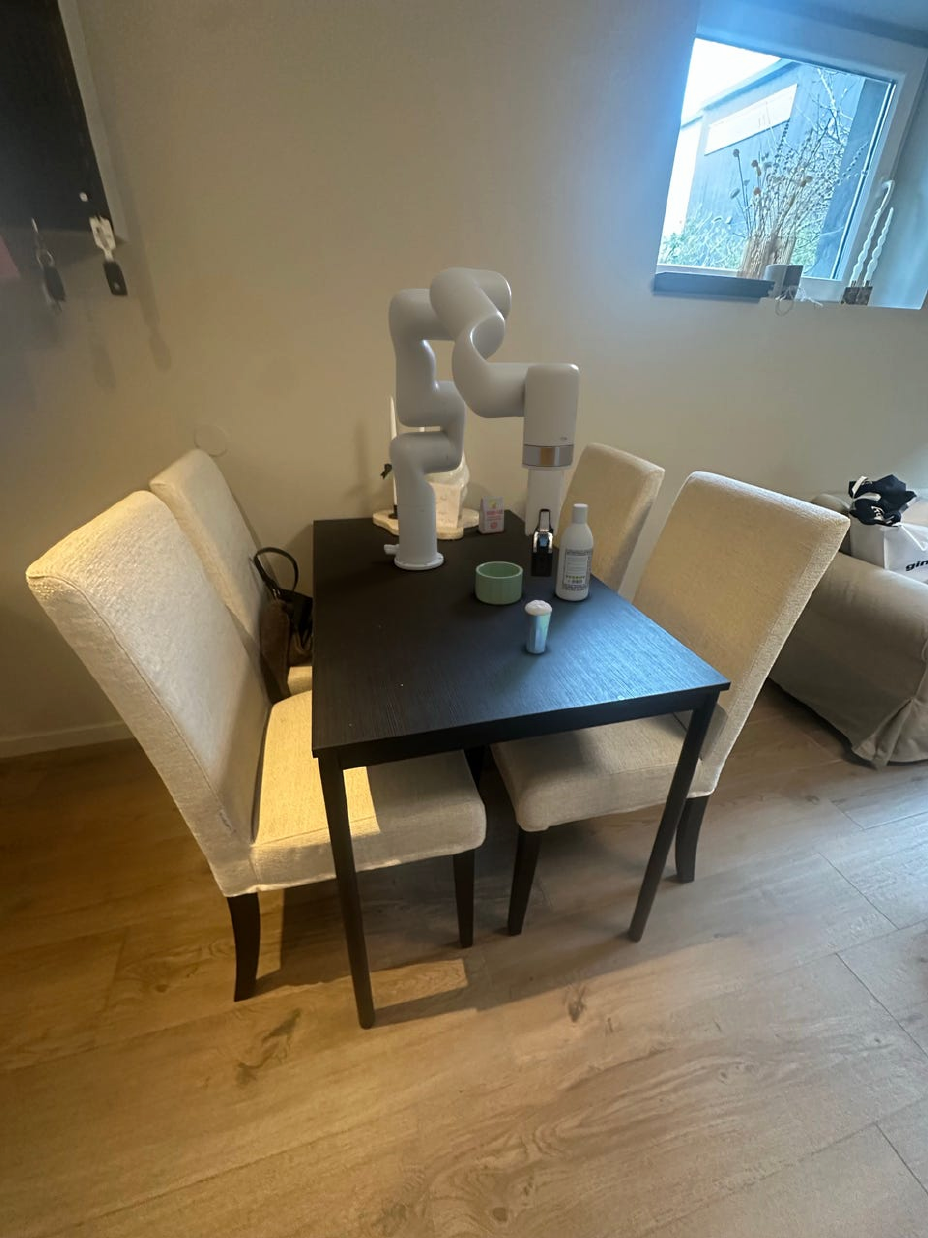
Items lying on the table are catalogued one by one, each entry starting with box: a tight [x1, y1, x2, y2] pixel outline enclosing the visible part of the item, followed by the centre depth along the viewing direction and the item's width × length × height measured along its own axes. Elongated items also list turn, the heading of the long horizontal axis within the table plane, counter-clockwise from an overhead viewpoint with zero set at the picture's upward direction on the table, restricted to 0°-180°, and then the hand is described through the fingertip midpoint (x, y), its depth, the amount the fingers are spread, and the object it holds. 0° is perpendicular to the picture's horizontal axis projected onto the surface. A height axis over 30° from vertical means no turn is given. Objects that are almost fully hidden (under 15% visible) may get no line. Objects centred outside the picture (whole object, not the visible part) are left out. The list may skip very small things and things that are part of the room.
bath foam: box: [555, 503, 595, 602], centre depth 105 cm, size 7×7×20 cm
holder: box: [475, 560, 524, 605], centre depth 109 cm, size 10×10×6 cm
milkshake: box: [520, 598, 553, 655], centre depth 86 cm, size 4×5×10 cm
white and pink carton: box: [478, 496, 505, 534], centre depth 151 cm, size 4×7×10 cm, turn 109°
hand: (540, 565), depth 81 cm, fingers open, 9 cm apart
